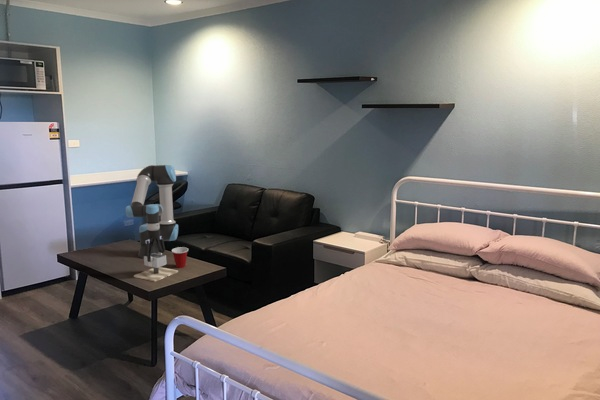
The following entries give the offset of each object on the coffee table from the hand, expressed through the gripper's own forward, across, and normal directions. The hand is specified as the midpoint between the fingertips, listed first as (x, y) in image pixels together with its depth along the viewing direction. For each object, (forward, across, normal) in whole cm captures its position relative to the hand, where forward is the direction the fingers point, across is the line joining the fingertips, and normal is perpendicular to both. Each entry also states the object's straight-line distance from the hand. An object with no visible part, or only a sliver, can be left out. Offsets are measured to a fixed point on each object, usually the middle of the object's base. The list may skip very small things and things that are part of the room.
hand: (155, 264), depth 297 cm
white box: (0, 0, 0) cm, 0 cm away
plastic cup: (+7, +19, -3) cm, 21 cm away
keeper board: (+7, 0, 0) cm, 7 cm away
